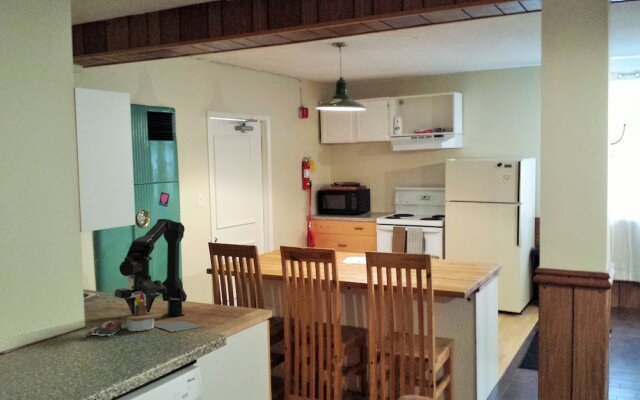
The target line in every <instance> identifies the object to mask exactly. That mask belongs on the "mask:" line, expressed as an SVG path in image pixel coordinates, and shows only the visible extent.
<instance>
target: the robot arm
mask: <svg viewBox="0 0 640 400" xmlns="http://www.w3.org/2000/svg"><path fill="white" fill-rule="evenodd" d="M184 233H185V225H184V224H183V223H182V222H177V221H174V220H171V219H170V218H159V219H157V220H156V222H155V223H154V225H153V226H152V227H151V228H150V229H149V230H148V231H147V232H146V233H145V234H144V235H142V236H139V237H137V238H136V239H133V240H132V241H131V244H130V246H129V249H128V251H127V254H126V255H125V257H124V261H122V262H120V265H119V268H118V269H119V272H120V274H121V275H122V276H123V277H128V276H130V275H132V278H133V286H132V289H133V290H131V289H128V287H124V288H122V287H121V288H116V289H115V291H114V297H115V298H119V299H124V300H125V302H126V304H127V306H129V308H130V311H131V313H132V315H134V314H135V299H136V298H135V297H134V294H141V293H144V294H145V305H146V311H147V313H149V312H151V309H152V306H153V304H154V301H155V299H157V298H158V297H159V296H160V295H161V296H162V301H163V302H167V304H166V305H167V312H166V313H164V314H163V315H164V316H166V317H167V316H168V317H171V318H176V317H181V316H185V313H183V303H184V302H186V301H187V297H188V295H187V293H186V291H185V289H184V286H183V282H182V280H181V279H180V243H181V241H182V240H183V238H184ZM162 236H163V238H164V240H165V241H166V245H167V246H166V247H167V248H166V249H167V255H166V260H167V261H166V278H165V280H164V281H161V280H160V279H158V280H154V281H153V280H152V275H150V261H152V260H153V257H152V256H150V255H151V254H152V253H153V251H154V250H155V244H156V242H157V241H158V240H159V239H160V238H161V237H162Z"/></svg>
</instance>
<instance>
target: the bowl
mask: <svg viewBox="0 0 640 400" xmlns="http://www.w3.org/2000/svg"><path fill="white" fill-rule="evenodd" d="M154 326H155V318H154V319H148V320H141V321H135V322H134V321H131V320H128V319H126V329H130V330H143V329H151V328H153V329H154V328H155V327H154Z"/></svg>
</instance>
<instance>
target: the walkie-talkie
mask: <svg viewBox="0 0 640 400" xmlns="http://www.w3.org/2000/svg"><path fill="white" fill-rule="evenodd" d="M119 329H121V330H122V323H121V322H120V321H114V320H107V321H105V322H102V323H101V324H100V326H96V327H93V328H90V329H89V330H87V333H86V334H85V335H83V336H81V338H80V339H81V340H82V339H84V338H85V339H87V338H88V337H89V336H88V335H90V334H92V333H95V334H96V333H98V334H112V333H114V332H116V331H117V330H119ZM87 336H88V337H87ZM86 337H87V338H86ZM85 339H84V340H85Z"/></svg>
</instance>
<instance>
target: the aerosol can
mask: <svg viewBox="0 0 640 400" xmlns="http://www.w3.org/2000/svg"><path fill="white" fill-rule="evenodd" d="M132 286H133V278H132V275H130V276H127V289H131V290H133V289H132ZM134 297H135V298H136V299H135V305H141V304H143V305H145V302H146V295H145V294H144V293H141V294H134ZM127 313H131V311H130V308H129V306H128V305H127Z"/></svg>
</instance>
